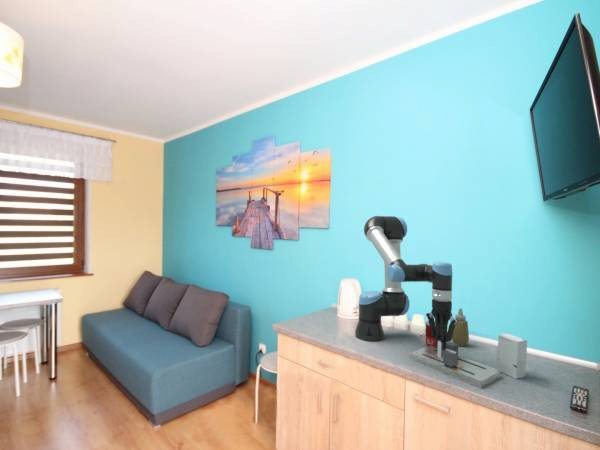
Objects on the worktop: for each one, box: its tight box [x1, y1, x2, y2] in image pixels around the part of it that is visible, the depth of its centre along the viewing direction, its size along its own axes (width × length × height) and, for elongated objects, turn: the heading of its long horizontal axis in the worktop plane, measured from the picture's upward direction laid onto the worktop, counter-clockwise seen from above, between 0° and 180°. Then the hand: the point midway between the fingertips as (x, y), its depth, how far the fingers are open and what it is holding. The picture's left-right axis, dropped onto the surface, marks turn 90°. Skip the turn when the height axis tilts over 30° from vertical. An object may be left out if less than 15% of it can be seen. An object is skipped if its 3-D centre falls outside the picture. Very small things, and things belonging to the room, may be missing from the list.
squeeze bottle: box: [451, 307, 470, 347], centre depth 154 cm, size 8×8×18 cm
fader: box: [443, 349, 459, 367], centre depth 124 cm, size 4×4×5 cm
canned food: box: [425, 320, 437, 348], centre depth 151 cm, size 8×8×11 cm
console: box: [409, 341, 502, 389], centre depth 128 cm, size 30×16×8 cm, turn 35°
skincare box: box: [495, 333, 528, 380], centre depth 123 cm, size 8×6×15 cm
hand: (441, 356), depth 127 cm, fingers closed
